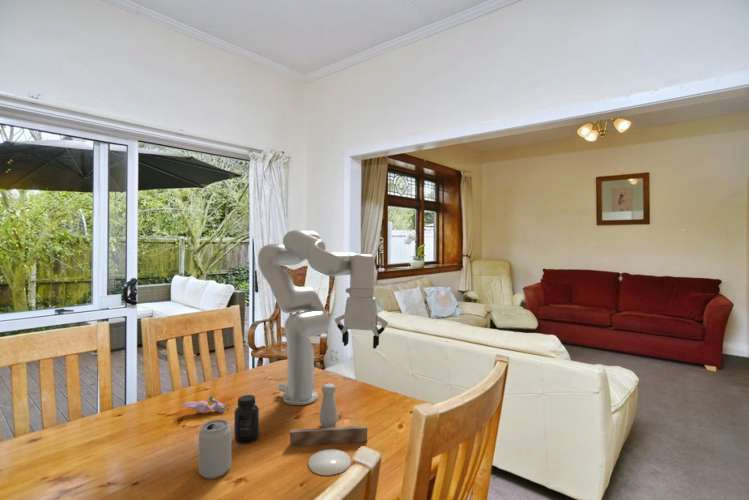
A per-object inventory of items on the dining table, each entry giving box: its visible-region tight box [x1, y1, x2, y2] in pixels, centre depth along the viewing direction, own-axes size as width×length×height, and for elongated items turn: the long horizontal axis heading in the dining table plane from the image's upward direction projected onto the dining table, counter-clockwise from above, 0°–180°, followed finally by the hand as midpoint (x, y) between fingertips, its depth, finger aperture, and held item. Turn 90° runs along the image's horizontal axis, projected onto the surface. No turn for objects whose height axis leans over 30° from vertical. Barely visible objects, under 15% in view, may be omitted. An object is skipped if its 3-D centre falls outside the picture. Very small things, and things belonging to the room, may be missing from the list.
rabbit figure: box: [180, 395, 231, 414], centre depth 127 cm, size 6×6×15 cm
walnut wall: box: [289, 425, 368, 447], centre depth 109 cm, size 22×2×4 cm, turn 98°
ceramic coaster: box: [308, 448, 352, 476], centre depth 100 cm, size 11×11×1 cm
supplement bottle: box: [233, 394, 260, 445], centre depth 111 cm, size 7×7×12 cm
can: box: [198, 418, 232, 479], centre depth 95 cm, size 8×8×12 cm
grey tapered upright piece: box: [318, 383, 339, 428], centre depth 119 cm, size 6×6×13 cm
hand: (360, 346), depth 121 cm, fingers open, 9 cm apart
